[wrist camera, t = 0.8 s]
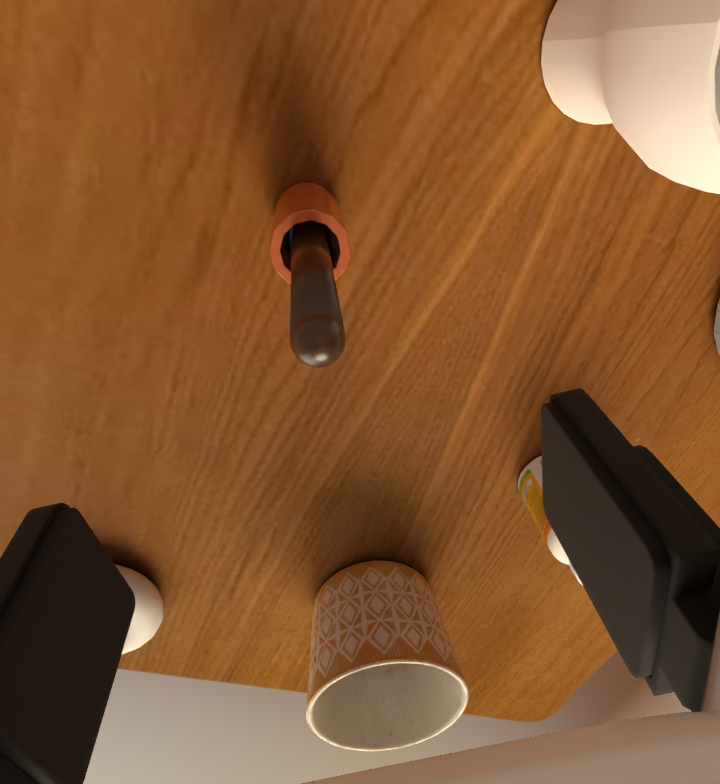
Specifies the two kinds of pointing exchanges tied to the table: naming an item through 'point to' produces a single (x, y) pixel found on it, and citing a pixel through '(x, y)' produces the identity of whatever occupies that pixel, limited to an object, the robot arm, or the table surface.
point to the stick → (314, 298)
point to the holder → (301, 207)
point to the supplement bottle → (540, 508)
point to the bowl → (717, 328)
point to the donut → (142, 609)
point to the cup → (643, 78)
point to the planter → (381, 661)
